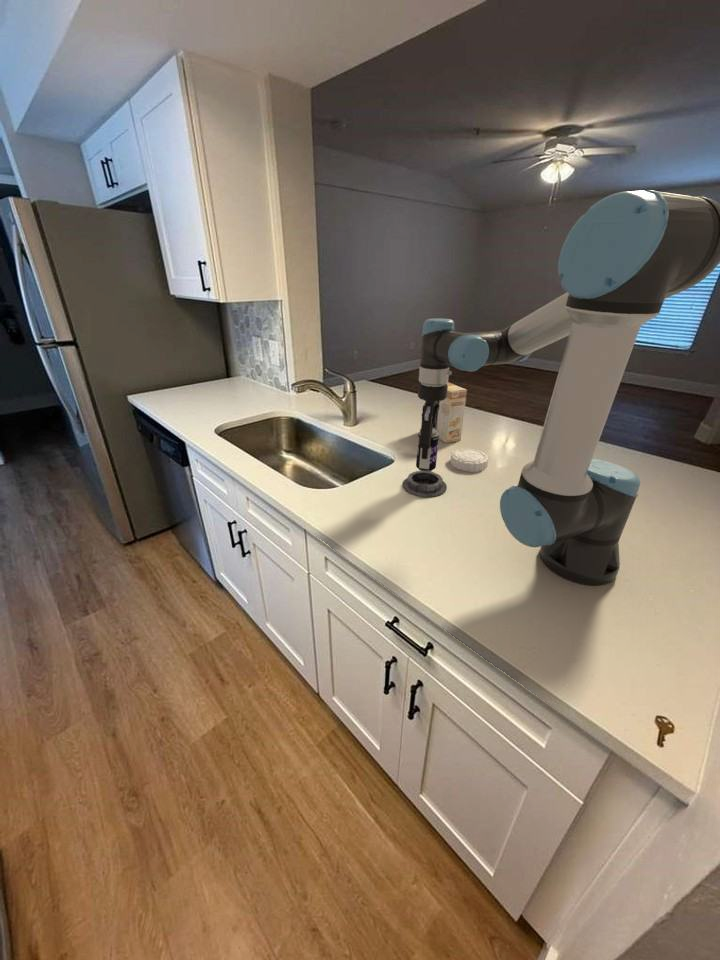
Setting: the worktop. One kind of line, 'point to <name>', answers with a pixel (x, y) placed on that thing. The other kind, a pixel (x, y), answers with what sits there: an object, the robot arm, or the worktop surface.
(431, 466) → the beverage can
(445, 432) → the coffeecake box
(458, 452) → the mooncake
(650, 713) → the worktop surface
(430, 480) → the ring collar
